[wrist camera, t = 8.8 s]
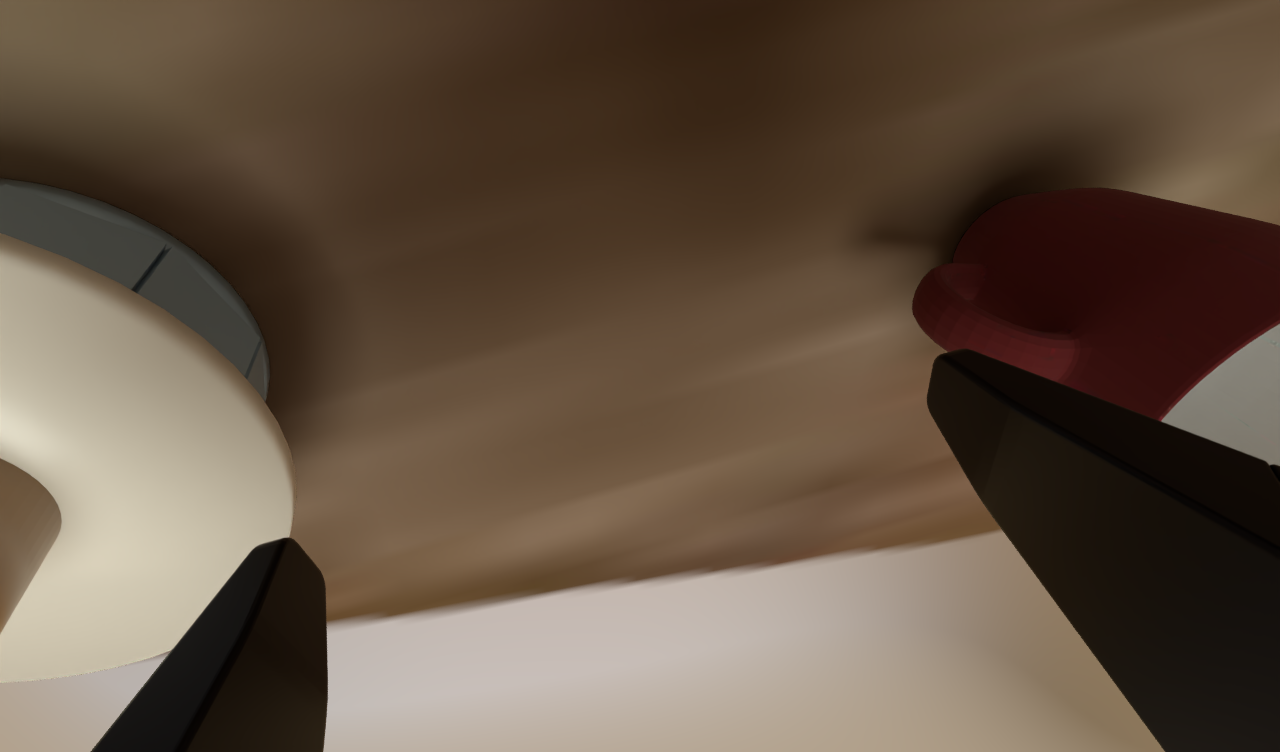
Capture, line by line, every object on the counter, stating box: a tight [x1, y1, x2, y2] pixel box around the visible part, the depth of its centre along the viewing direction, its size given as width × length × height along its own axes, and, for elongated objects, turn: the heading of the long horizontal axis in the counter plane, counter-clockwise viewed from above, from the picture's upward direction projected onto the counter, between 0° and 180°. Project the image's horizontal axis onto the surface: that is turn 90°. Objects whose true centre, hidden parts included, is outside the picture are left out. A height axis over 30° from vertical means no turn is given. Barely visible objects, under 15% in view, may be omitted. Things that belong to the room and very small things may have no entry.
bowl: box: [0, 178, 270, 402], centre depth 16 cm, size 10×10×5 cm
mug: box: [912, 188, 1280, 466], centre depth 20 cm, size 11×8×10 cm
